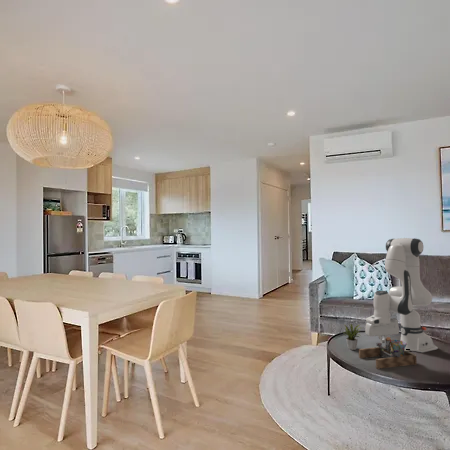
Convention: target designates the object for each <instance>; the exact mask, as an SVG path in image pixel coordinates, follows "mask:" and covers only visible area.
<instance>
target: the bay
mask: <svg viewBox="0 0 450 450" xmlns="http://www.w3.org/2000/svg"><path fill="white" fill-rule="evenodd" d="M384 347H385V348H386V345H385V346H384ZM390 350H391V345H390ZM384 351H385V352H386V353H388V354H391V353H389V352H388V351H386V350H384ZM375 357H381V356H380V347H378V346H376V347H367V348H359V349H358V358H359V359H366V358H375ZM417 362H418V361H417V354H415V353H413V352H411V351H410V350H406V349H404V356H401V357H390V358H383V357H381V358H375V369H377V370H379V369H380V368H381V369H388V368H389V369H390V368H397V367H405V366H406V367H407V366H412V365H413V366H417V364H418V363H417Z"/></svg>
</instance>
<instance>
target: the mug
mask: <svg viewBox="0 0 450 450" xmlns="http://www.w3.org/2000/svg"><path fill="white" fill-rule="evenodd" d="M406 345H407V343H406V342H404V341H401V340H400V339H395V338H393V339H392V338H391V340H390V346H391V351H393V352H401V354H400V355H401V356H404V349H405V347H406ZM405 350H406V349H405ZM390 355H392V356H393V354H390Z"/></svg>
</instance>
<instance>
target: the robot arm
mask: <svg viewBox="0 0 450 450" xmlns="http://www.w3.org/2000/svg"><path fill="white" fill-rule="evenodd" d="M385 251H386V257H385V261H384V269H385V271H386V272H387V273H388V274H389V275H391V276H392V277H394V278H396V279H398V280H399V281H400V282H401V286H399V285H398V286H392V287H391V288H390V289H389V290H388V291H386V290H376V291H375V292H374V295H373V309H374V310H373V314H372V315H371V316H368V317H366V318H365V321H366V323H365V326H364V327H365V329H364V330H365V331H364V332H365V335H366V336H367V337H369V338H370V337H378V339H379V343H382V344H386V341H385V340H386V338H387V337H388V336H391V335H392V336H393V335H399V334H400V339H399V340H401V341H404V342H406V343H407V345H406V347H405V350H406V349H410V350H409V352H411V351H412V352H418V353H427V352H431V351H435V350H438V349H439V347H438V346H437V345H435V344H434V342H433V339H432V337H430V336H429V335H428V334H426V333H425V332H424V331H427V327H425V326H421V314H420V313H419V312H418V311H416V309H414V306H419V307H426V306H429V305H431V303H432V301H433V295H432V293H431V292H430V291H429V289H427V288H426V287H425V286H424V284H423V281H422V280H421V274H420V273H421V272H420V269H421V268H420V266H421V265H420V264H421V263H420V257H419V255H421V254H422V253H423V251H424V243H423V241H422V240H421V239H419V238H417V237H415V238H410V237H403V238H402V237H401V238H390V239H388V240H387V242H386V243H385ZM390 312H391V313H395V314H399V316H400V326H399V321H398V319H397V318H396V317H392V318H391V313H390ZM399 327H400V328H399Z"/></svg>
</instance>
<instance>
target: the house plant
mask: <svg viewBox="0 0 450 450" xmlns="http://www.w3.org/2000/svg"><path fill="white" fill-rule="evenodd" d="M359 326H360V324H357V325H356V326H355V327H354V325H353V324H352V323H350V325H349V328H350V329H349V328H348V326H347V325H346V324H344V327H345V328H344V327H343V329H344V330H345V331H344V332H342V333H343V334H344V336H345V337H346V339H345V340H346V345H347V348H348V350H351V351H353V350H357V347H358V339H359V338H360V336H361V337H362V335H361V333H360V334H359V332H361V330H360V329H361V327H359Z"/></svg>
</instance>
